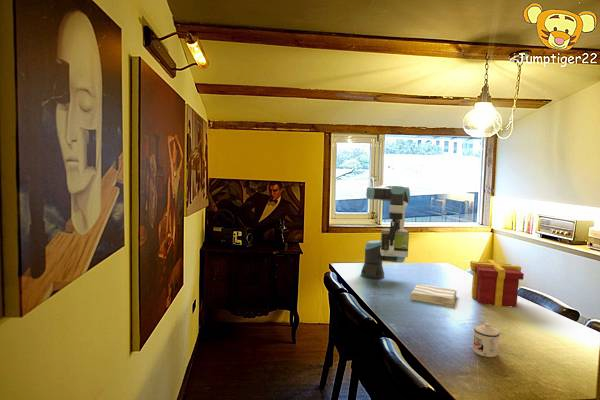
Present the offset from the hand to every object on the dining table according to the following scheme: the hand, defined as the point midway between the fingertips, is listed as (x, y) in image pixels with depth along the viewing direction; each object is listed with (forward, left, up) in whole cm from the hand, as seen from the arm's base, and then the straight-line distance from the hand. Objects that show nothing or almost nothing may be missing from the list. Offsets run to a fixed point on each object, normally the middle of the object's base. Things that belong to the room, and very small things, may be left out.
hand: (393, 249), depth 232 cm
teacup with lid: (+63, +51, -24) cm, 84 cm away
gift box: (-15, +54, -25) cm, 61 cm away
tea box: (0, 0, -3) cm, 3 cm away
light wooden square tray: (0, +24, -24) cm, 34 cm away
